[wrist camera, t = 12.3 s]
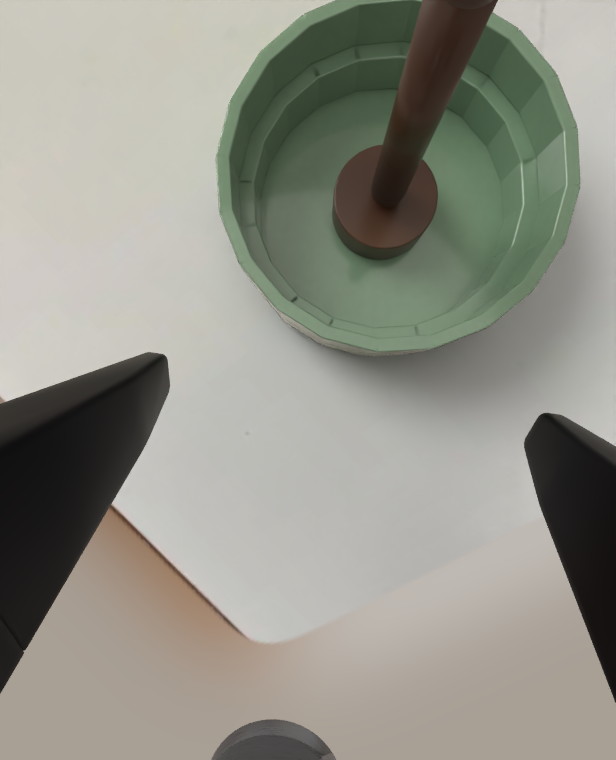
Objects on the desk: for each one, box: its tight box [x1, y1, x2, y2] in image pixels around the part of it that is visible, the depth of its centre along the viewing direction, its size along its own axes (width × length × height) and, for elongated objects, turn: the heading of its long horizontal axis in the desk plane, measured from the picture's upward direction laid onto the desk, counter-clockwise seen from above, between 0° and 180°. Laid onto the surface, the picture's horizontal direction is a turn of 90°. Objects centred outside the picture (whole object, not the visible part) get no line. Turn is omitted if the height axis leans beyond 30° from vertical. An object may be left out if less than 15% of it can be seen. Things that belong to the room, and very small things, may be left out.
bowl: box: [216, 0, 580, 356], centre depth 18 cm, size 15×15×4 cm
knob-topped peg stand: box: [332, 0, 498, 260], centre depth 13 cm, size 5×5×12 cm
